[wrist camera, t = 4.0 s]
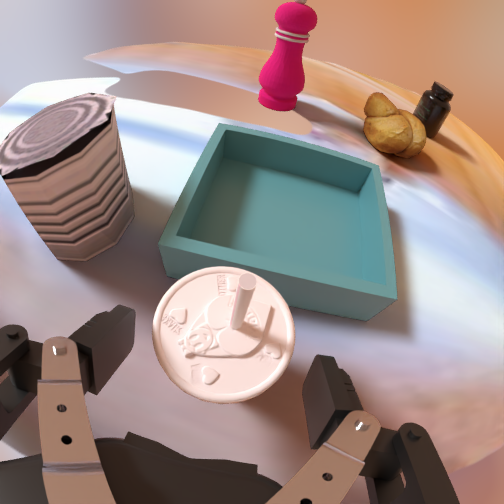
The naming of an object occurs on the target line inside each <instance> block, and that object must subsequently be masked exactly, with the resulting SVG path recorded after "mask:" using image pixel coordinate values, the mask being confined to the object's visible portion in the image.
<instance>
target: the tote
mask: <svg viewBox="0 0 504 504" xmlns="http://www.w3.org/2000/svg"><path fill="white" fill-rule="evenodd" d="M158 246H159V250H160V253H161V257H162V261H163V264H164V268H165V271H166V275H167V276H168V277H172V278H175V279H179V280H180V279H181V278H183V277H185V276H186V275H188V274H190V273H192V272H195V271H197V270H201V269H204V268H209V267H218V266H225V267H234V268H239V269H243V270H246V271H249V272H251V273H254V274H256V275H258V276H259V277H261V278H263V279H264V280H266V281H267V282H268V283H270V284H271V285H272V286H273V287H274V288H275V289H276V290H277V291H278V292H279V293H280V294H281V296H282V297H283V299H284V300H285V302H286V304H287V305H288V306H292V307H297V308H302V309H307V310H311V311H316V312H321V313H326V314H332V315H337V316H342V317H347V318H353V319H358V320H364V321H368V320H369V319H371V318H372V317H374V316H375V315H376V314H378V313H379V312H381V311H382V310H384V309H385V308H386V307H388V306H389V305H390V304H392V303H393V302H395V301H396V300H397V286H396V273H395V262H394V252H393V244H392V236H391V229H390V222H389V216H388V210H387V204H386V198H385V193H384V188H383V183H382V178H381V173H380V169H379V166H378V165H375V164H373V163H370V162H367V161H364V160H361V159H359V158H356V157H353V156H350V155H347V154H343V153H340V152H337V151H334V150H331V149H327V148H324V147H321V146H317V145H314V144H310V143H307V142H303V141H299V140H295V139H292V138H288V137H284V136H280V135H275V134H271V133H267V132H262V131H258V130H253V129H248V128H243V127H238V126H233V125H228V124H222V123H219V124H218V126H217V128H216V129H215V131H214V133H213V135H212V136H211V138H210V140H209V142H208V143H207V145H206V147H205V149H204V151H203V153H202V154H201V156H200V158H199V160H198V162H197V164H196V166H195V168H194V169H193V171H192V173H191V175H190V177H189V179H188V181H187V183H186V185H185V187H184V189H183V191H182V193H181V195H180V197H179V199H178V201H177V203H176V205H175V207H174V210H173V212H172V214H171V216H170V218H169V220H168V222H167V225H166V227H165V229H164V231H163V233H162V236H161V238H160V240H159V242H158Z"/></svg>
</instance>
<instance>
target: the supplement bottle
mask: <svg viewBox="0 0 504 504" xmlns="http://www.w3.org/2000/svg"><path fill="white" fill-rule="evenodd" d="M452 97H453V93H452V92H451V91H450V90H449V89H447V88H446V87H445V86H443V85H441V84H440V83H438V82H434V84H433V86H432V90H426V91H425V92H424V93H423V95H422V97H421V99H420V101H419V103H418V105H417V107H416V109H415V111H414V113H413V115H414V116H415V117H417V118H418V119H419V120H420V121H421V123H422V124H423V125H424V127H425V131H426V136H427V137H429V138H434V137H435V136H436V134H437V133H438V131H439V129H440V128H441V126H442V124H443V123H444V121H445V119H446V117H447V116H448V114H449V112H450V110H451V107H450V104H449V101H451V99H452Z"/></svg>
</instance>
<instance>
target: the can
mask: <svg viewBox="0 0 504 504" xmlns="http://www.w3.org/2000/svg"><path fill="white" fill-rule="evenodd" d="M115 99H116V96H110V95H103V94H95V93H87V94H83V95H80V96H77V97H74V98H70V99H67V100H64V101H61V102H59V103H56V104H53V105H50V106H48V107H46V108H44V109H43V110H41V111H40V112H38V113H37V114H35V115H34V116H32V117H31V118H29V119H28V120H26V121H25V122H24V123H22V124H21V125H19V126H18V127H17V128H15V129H14V130H13V131H11V132H10V133H9V134H8V136H7V137H6V139H5V140H4V141H3V143H2V144H1V146H0V175H1V176H2V178H3V179H4V181H5V183H6V185H7V186H8V188H9V190H10V191H11V193H12V195H13V196H14V198H15V200H16V201H17V203H18V205H19V206H20V208H21V209H22V211H23V212H24V214H25V215H26V217H27V218H28V220H29V221H30V223H31V224H32V226H33V227H34V229H35V230H36V231H37V233H38V234H39V236H40V237H41V238H42V240H43V241H44V242H45V244H46V245H47V247H48V248H49V249H50V250H51V252H52V253H53V254H54V256H55V257H56V258H57V259H59V260H72V261H88V260H89V259H91V258H93V257H95V256H97V255H98V254H100V253H102V252H104V251H105V250H107V249H109V248H111V247H113V246H114V245H116V244H117V243H118V242H119V240H120V238H121V237H122V235H123V234H124V232H125V230H126V229H127V227H128V226H129V224H130V223H131V221H132V220H133V218H134V207H133V196H132V190H131V186H130V182H129V178H128V174H127V169H126V165H125V161H124V156H123V152H122V147H121V143H120V138H119V133H118V128H117V122H116V117H115V111H114V102H115Z"/></svg>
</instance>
